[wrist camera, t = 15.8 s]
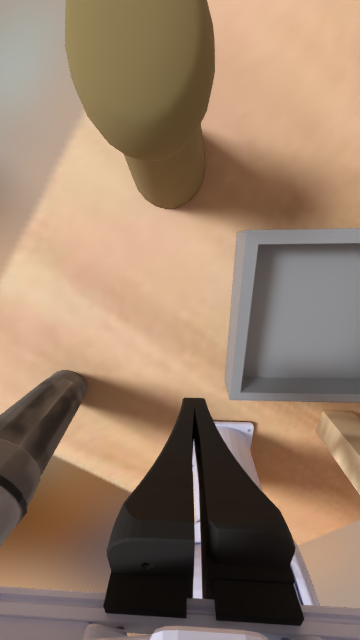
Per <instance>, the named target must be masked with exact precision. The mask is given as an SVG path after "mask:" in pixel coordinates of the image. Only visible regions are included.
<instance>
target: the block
mask: <svg viewBox="0 0 360 640" xmlns="http://www.w3.org/2000/svg"><path fill="white" fill-rule="evenodd" d="M316 432H317V434H318V435H319V437H320V438H321V440H322V441H323V443H324V444H325V445H326V447H327V448H328V450H329V451H330V453H331V454H332V456H333V457H334V459H335V460H336V461H337V463H338V464H339V466H340V467H341V469H342V470H343V472H344V473H345V474H346V476H347V477H348V479H349V480H350V482H351V483H352V485H353V486H354V488H355V489H356V490H357V492H358V493H359V495H360V419H359V418H358V417H357V416H356V415H355V414H354V413H353V412H352V411H324V410H322V414H321V417H320V420H319V423H318V426H317V429H316Z"/></svg>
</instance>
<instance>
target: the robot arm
mask: <svg viewBox="0 0 360 640" xmlns="http://www.w3.org/2000/svg"><path fill="white" fill-rule="evenodd" d="M253 431H254V425H253V423H251V422H218V421H213V419H212V417H211V415H210V413H209V410H208V408H207V405H206V401H205V399H204V398H184V399H183V402H182V406H181V410H180V413H179V416H178V418H177V421H176V424H175V426H174V428H173V430H172V433H171V435H170V437H169V439H168V441H167V443H166V444H165V446H164V448H163V450H162V452H161V453H160V455H159V456H158V458H157V460H156V461H155V463H154V464H153V466H152V467H151V469H150V470H149V472H148V473H147V474H146V476H145V477H144V478H143V480H142V481H141V482H140V484H139V485H138V486H137V488H136V489H135V490H134V491H133V492H132V494H131V495H130V496H129V497H128V498H127V499H126V501H125V502H124V504H123V506H122V508H121V510H120V512H119V514H118V517H117V519H116V521H115V524H114V527H113V530H112V533H111V536H110V540H109V544H108V548H107V557H108V561H109V565H110V568H111V575H110V579H109V583H108V588H107V592H106V593H102V592H85V591H68V590H52V589H36V588H20V587H4V586H0V640H360V608H346V607H328V606H320V604H319V601H318V598H317V595H316V593H315V589H314V586H313V584H312V581H311V578H310V575H309V573H308V570H307V568H306V565H305V562H304V560H303V557H302V555H301V553H300V550H299V548H298V546H297V544H296V542H295V541H294V540H293V538H292V535H291V533H290V531H289V528H288V526H287V524H286V522H285V520H284V518H283V516H282V514H281V512H280V510H279V509H278V508H277V507H276V506H275V505H274V504H273V503H272V502H271V501H270V500H269V499H268V497H267V496H266V495H265V494H264V493H263V492H262V488H261V485H260V482H259V478H258V475H257V472H256V468H255V465H254V462H253V458H252V455H251V452H250V449H251V443H252V437H253ZM193 473H194V498H195V523H194V498H193ZM126 633H139V634H152V635H142V636H127V634H126Z"/></svg>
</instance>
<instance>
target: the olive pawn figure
mask: <svg viewBox="0 0 360 640" xmlns="http://www.w3.org/2000/svg"><path fill="white" fill-rule="evenodd" d="M65 18H66V20H65V47H66V52H67V58H68V63H69V68H70V73H71V78H72V80H73V83H74V86H75V88H76V91H77V93H78V95H79V98H80V100H81V102H82V104H83V107H84V109H85V111H86V114H87V116H88V117H89V119H90V120H91V121H92V123H93V124H94V125H95V126H96V128H97V129H98V130H99V131H100V133H101V134H102V135H103V137H104V138H105V139H106V140H107V141H108V143H109V144H110V145H112V146H113V147H115V148H116V149H118V150H119V151H120V152H122V153H123V154H124V156H125V158H126V161H127V164H128V166H129V169H130V171H131V174H132V176H133V179H134V181H135V184H136V186H137V189H138V190H139V192H140V193H141V194H142V195H143V197H144V198H145V199H146V200H147V201H149V202H150V203H152V204H153V205H155V206H157V207H161V208H165V209H169V208H177V207H179V206H181V205H184V204H186V203H187V202H188V201H189V200H190V199H191V198H192V197H193V196H195V195H196V193H197V191H198V189H199V187H200V186H201V184H202V180H203V176H204V172H205V154H204V146H203V138H202V130H201V121H202V119H203V117H204V115H205V113H206V111H207V107H208V103H209V98H210V94H211V89H212V85H213V79H214V73H215V48H214V32H213V24H212V20H211V15H210V11H209V7H208V3H207V0H66V17H65Z"/></svg>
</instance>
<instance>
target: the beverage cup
mask: <svg viewBox="0 0 360 640" xmlns="http://www.w3.org/2000/svg"><path fill="white" fill-rule="evenodd" d="M86 391H87V386H86V383H85V381H84V379H83V378H82V377H81V376H80V375H78V374H76V373H75V372H72V371H68V370H61V371H58V372H56V373H55V374H53V375H52V376H51V377H50V378H48V379H46V380H45V381H43V382H42V383H41V384H39V385H38V386H37V387H36V388H34V389H33V390H32V391H31V392H29V393H28V394H27V395H25V396H24V397H23V398H22V399H20V400H19V401H18V402H16V403H15V404H14V405H13V406H11V407H10V408H9V409H7V410H6V411H5V412H4V413H2V414H1V415H0V545H1V544H2V543H3V542H4V540H5V539H6V538H7V537H8V535H9V534H10V533H11V531H12V530H13V529H14V527H15V526H16V525H17V524H18V523H19V522H20V521H21V519H22V518H23V517H24V515H25V514H26V513H27V506H28V504H29V503H30V501H31V499H32V497H33V495H34V493H35V490H36V488H37V486H38V484H39V481H40V477H41V475H42V473H43V471H44V469H45V467H46V466H47V464H48V462H49V460H50V458H51V457H52V455H53V453H54V451H55V449H56V448H57V446H58V444H59V442H60V440H61V439H62V437H63V435H64V433H65V431H66V430H67V428H68V426H69V424H70V422H71V420H72V419H73V417H74V415H75V413H76V411H77V410H78V408H79V406H80V404H81V402H82V399H83V397H84V395H85V394H86Z"/></svg>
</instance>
